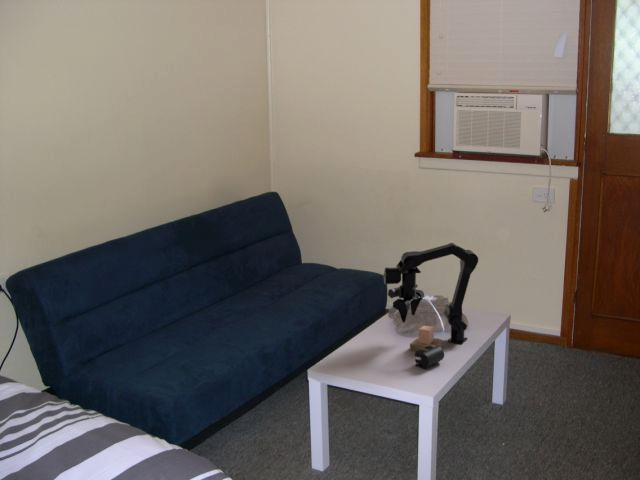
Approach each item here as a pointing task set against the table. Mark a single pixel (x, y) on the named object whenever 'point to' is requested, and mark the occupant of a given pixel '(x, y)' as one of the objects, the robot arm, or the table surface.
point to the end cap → (429, 356)
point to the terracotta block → (426, 334)
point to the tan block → (421, 346)
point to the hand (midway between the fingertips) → (408, 318)
